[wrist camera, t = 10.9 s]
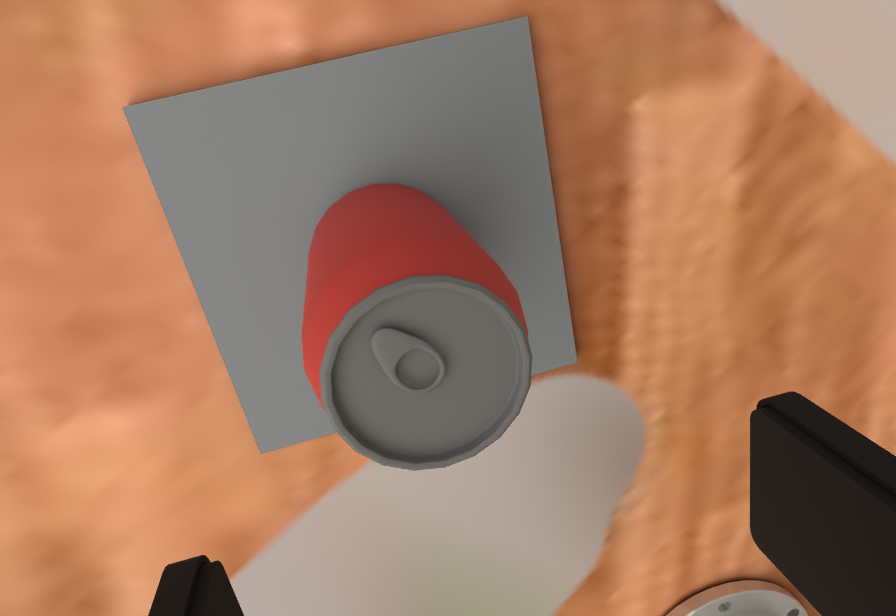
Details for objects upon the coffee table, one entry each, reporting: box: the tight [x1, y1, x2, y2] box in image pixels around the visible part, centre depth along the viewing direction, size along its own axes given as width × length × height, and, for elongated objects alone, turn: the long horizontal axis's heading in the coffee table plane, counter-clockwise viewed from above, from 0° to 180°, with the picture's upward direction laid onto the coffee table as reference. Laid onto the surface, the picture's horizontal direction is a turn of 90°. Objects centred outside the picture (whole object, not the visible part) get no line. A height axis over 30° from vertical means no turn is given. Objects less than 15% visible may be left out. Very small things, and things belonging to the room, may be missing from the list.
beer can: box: [301, 183, 533, 470], centre depth 21 cm, size 7×7×12 cm
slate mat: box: [122, 16, 577, 454], centre depth 27 cm, size 16×16×1 cm
